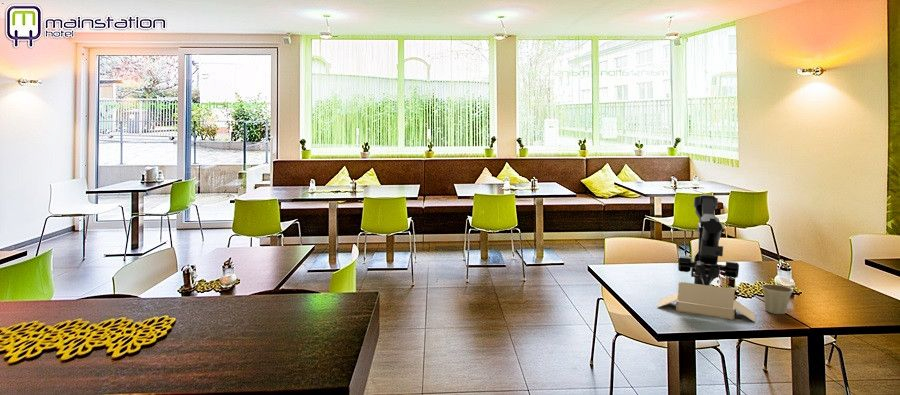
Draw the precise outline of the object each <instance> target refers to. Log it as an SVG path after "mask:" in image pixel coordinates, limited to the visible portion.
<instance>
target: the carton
mask: <svg viewBox="0 0 900 395" xmlns="http://www.w3.org/2000/svg"><path fill="white" fill-rule="evenodd" d="M675 302H676V303H675ZM671 303H675V311H676V312H680V313H686V314H687V313H688V314H693V315H700V316H708V317H713V318H719V319H725V320H726V319H727V320H732V321H733V320H735V311H737V312H738V313H740V314H741V315H743V316H745V318H748V319H749V320H751V321H752V322H754V323H755V322H756V319H755V318H756V317H755V312H754V311H752V310H751V309H749V308H748V307H747V306H745V305H743V304H742V303H741V302H739V301H738V300H736V299H734V305H733V308H726V307H719V306H712V305H705V304H698V303H691V302H684V301H678V292H676V293H673V294H670V295H668V296H666V297H665V296H664V297H662V298H660V300H659V302H658V304H657V309H658V308H662V307H664V306H667V305H669V304H671Z"/></svg>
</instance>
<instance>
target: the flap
mask: <svg viewBox="0 0 900 395" xmlns="http://www.w3.org/2000/svg"><path fill="white" fill-rule="evenodd" d="M677 290H678V291H677V293H678V301H684V302H691V303H698V304H705V305H712V306H719V307H726V308H733V305H734V300H735V291H736V289H735V288H731V287H723V286H716V285H715V286H714V285H710V286H709V285H701V284H694V282H693V283H690V282H683V281H678V288H677Z"/></svg>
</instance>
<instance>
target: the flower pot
mask: <svg viewBox="0 0 900 395" xmlns="http://www.w3.org/2000/svg"><path fill="white" fill-rule="evenodd" d="M761 288H762V291H763V299H764V310H765V311H766V312H768V313H770V314H774V315H785V314H786V312H787V309H788V305H789V301H790V298H791V295H792V294H793V292H794V289H793V288H791V287H789V286H785V285H784V286H783V285H779V284H762V285H761Z"/></svg>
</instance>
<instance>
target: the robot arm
mask: <svg viewBox="0 0 900 395" xmlns="http://www.w3.org/2000/svg"><path fill="white" fill-rule="evenodd" d="M718 200H719V198H718V197H716V196H715V195H712V194H701V195H699V196H695V197H694V199H693V208H694V209H695V210H694V213H695V214H696V217H698V220H699V221H698V222H697V233H698V246H697V248H698V249H697V252H696V254H695V256H694V258H693V261H692V258H691V257H686V256H679V257H678V261H677V263H678V264H677V265H678V266H677V268H678V269H677V270H678V271H679V272H682V273H683V272H684V273H689V272H690V277H691V278H694V280H693V281H694V282H693V284H701V285H709V286H711V284H712V282H713V281H714V280H716V279H718V278H720V271H721V272H724V275H725V276H726V277H727V278H734V279H737V278H739V270H740V264H739V263H738V262H736V261H735V262H733V261H725V264H718V262H719V261H718V260H719V257H723V255H724V253H723V252H724V246H722V245H720V243H719V242H720V240H721V234H723V233H724V232H725V228H724V227H723V225H722V224H721V222H720V219H719V218H718V217H717V216H716V212H715V211H716V210H717V209H718V202H719V201H718Z"/></svg>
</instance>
